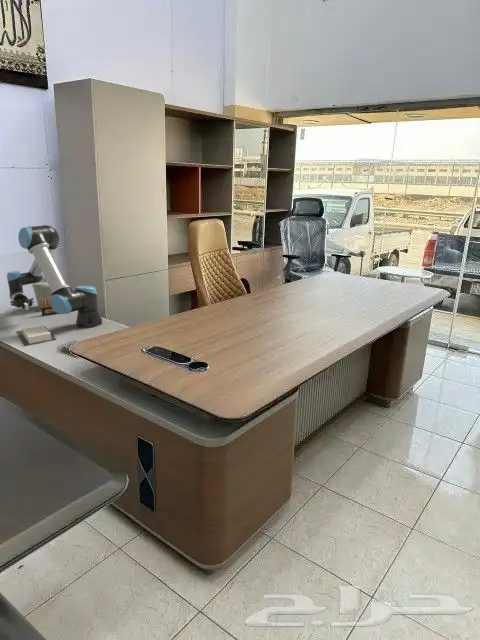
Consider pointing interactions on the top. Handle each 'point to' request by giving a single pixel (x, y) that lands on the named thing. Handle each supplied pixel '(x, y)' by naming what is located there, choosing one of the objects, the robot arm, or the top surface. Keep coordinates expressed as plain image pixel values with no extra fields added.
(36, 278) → the robot arm
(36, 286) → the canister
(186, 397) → the top surface
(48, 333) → the book
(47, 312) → the ammunition clip
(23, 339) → the desk pad
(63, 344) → the graphics card
